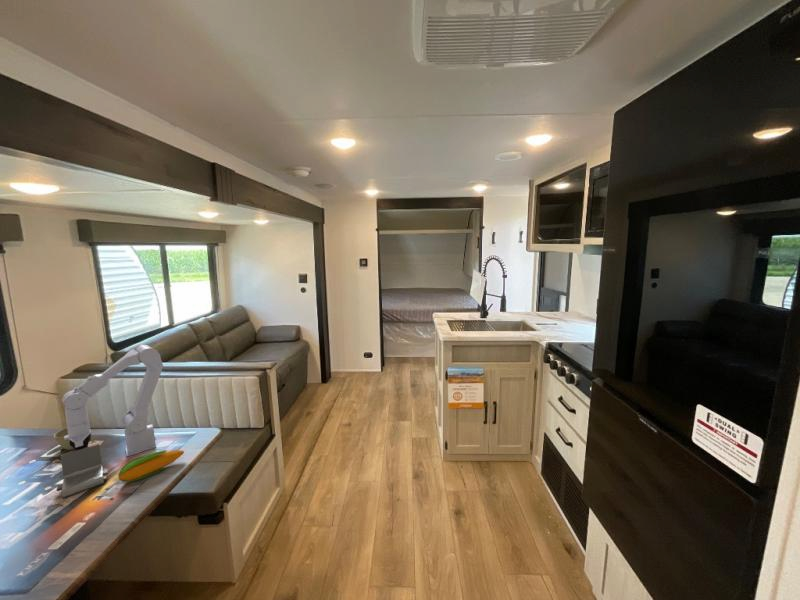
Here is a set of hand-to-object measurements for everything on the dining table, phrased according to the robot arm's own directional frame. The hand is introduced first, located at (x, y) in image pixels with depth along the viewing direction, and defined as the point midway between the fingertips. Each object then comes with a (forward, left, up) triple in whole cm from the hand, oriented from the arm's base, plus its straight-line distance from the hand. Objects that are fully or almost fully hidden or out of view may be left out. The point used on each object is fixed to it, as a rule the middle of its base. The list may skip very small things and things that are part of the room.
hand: (83, 455), depth 120 cm
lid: (0, +7, +1) cm, 7 cm away
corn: (-19, +18, -6) cm, 27 cm away
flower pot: (+4, -23, -6) cm, 24 cm away
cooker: (0, +11, -6) cm, 13 cm away
